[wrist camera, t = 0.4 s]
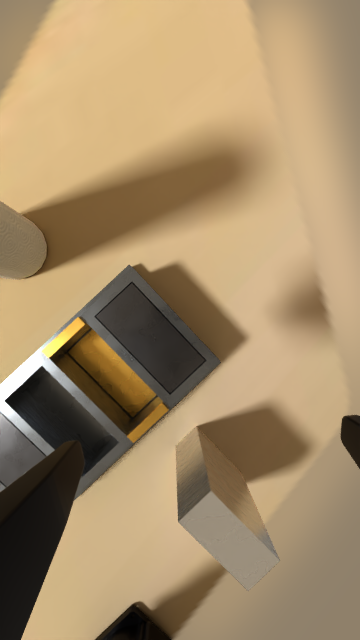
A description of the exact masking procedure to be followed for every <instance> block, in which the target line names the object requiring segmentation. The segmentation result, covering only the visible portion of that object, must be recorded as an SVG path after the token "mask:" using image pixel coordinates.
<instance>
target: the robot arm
mask: <svg viewBox="0 0 360 640" xmlns="http://www.w3.org/2000/svg"><path fill="white" fill-rule="evenodd" d="M341 440H342V443H343V445H344V446H345V447H346V449H347V451H348V452H349V453H350V455H351V457H352V458H353V460H354V461H355V463H356V464H357V466H358V467H359V469H360V416H358V415H348V416H344V417H343V418H342V425H341ZM83 468H84V456H83V452H82V448H81V444H80V442H79V441H78V440H75V441H67V442H65V443H63V444H62V445H61V446H60V447H58V448H57V449H56V450H54V451H53V452H52V453H50V454H49V455H48V456H46V457H45V458H44V459H43V460H41V461H40V462H39V463H37V464H36V465H35V466H33V467H32V468H31V469H30V470H28V471H27V472H26V473H24V474H23V475H22V476H20V477H19V478H18V479H16V480H15V481H14V482H13V483H11V484H10V485H9V486H7V487H6V488H5V489H3V490H2V491H1V492H0V640H21V638H22V635H23V633H24V630H25V628H26V625H27V623H28V620H29V618H30V615H31V613H32V610H33V607H34V605H35V602H36V600H37V597H38V595H39V592H40V590H41V587H42V585H43V582H44V580H45V577H46V575H47V572H48V569H49V567H50V564H51V562H52V559H53V557H54V554H55V552H56V549H57V547H58V544H59V542H60V539H61V537H62V534H63V531H64V529H65V526H66V523H67V520H68V517H69V514H70V511H71V508H72V505H73V501H74V498H75V495H76V491H77V488H78V485H79V482H80V478H81V475H82V472H83ZM96 640H171V639H170V638H169V637H168V636H167V635H166V634H165V633H163V632H162V631H161V630H160V629H159V628H158V627H157V626H156V625H155V624H154V623H153V622H152V621H151V620H150V619H149V618H147V617H146V616H145V615H144V614H143V613H142V612H141V611H140V610H139V609H138V608H137V607H135V606H132V607H130V608H129V609H128V610H127V611H126V612H125V613H124V614H123V615H122V616H121V617H120V618H119V619H117V620H116V621H115V622H114V623H113V624H112V625H111V626H110V627H109V628H108V629H107V630H106V631H105V632H104V633H103V634H102V635H101V636H99V637H98V638H97V639H96Z"/></svg>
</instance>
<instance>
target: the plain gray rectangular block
mask: <svg viewBox="0 0 360 640" xmlns="http://www.w3.org/2000/svg"><path fill="white" fill-rule="evenodd" d="M176 473H177V502H178V522H179V523H180V524H181V525H182V526H183V527H184V528H185V529H186V530H187V531H188V532H189V533H190V534H191V535H192V536H193V537H194V538H195V539H196V540H197V541H198V542H199V543H200V544H201V545H202V546H203V547H204V548H205V549H206V550H207V551H208V552H209V553H210V554H211V555H212V556H213V557H214V558H215V559H216V560H217V561H218V562H219V563H220V564H221V565H222V566H223V567H224V568H225V569H226V570H227V571H228V572H229V573H230V574H231V575H232V576H233V577H234V578H235V579H236V580H237V581H238V582H240V583H241V585H242V586H243V587H244V588H245V589H246V590H248V591H249V590H250V589H251V588H252V587H253V586H254V585H255V584H256V583H257V582H258V581H259V580H260V579H261V578H263V577H264V576H265V574H267V573H268V572H269V571H270V570H271V569H272V568H273V567H274V566H275V565H276V564H277V563H278V562H279V561H280V560H279V557H278V555H277V553H276V550H275V548H274V546H273V544H272V541H271V539H270V537H269V535H268V532H267V530H266V528H265V525H264V523H263V521H262V519H261V516H260V514H259V512H258V509H257V507H256V505H255V503H254V500H253V498H252V496H251V493H250V491H249V489H248V487H247V484H246V482H245V480H244V478H243V475H242V473H241V471H240V470H239V469H238V468H237V467H236V466H235V465H234V464H233V463H232V462H231V461H230V460H229V459H228V458H227V457H226V456H225V455H224V454H223V453H222V452H221V451H220V450H219V449H218V448H217V447H216V446H215V445H214V444H213V443H212V442H211V440H210V439H209V438H208V437H207V436H206V435H205V434H204V433H203V432H202V431H201V430H200V429H199V428H198V427H197V426H196V427H195V428H194V429H193V430H192V431H191V432H190V433H189V434H188V435H187V436H185V437H184V438H183V439H182V440H181V441H180V442H179V443H178V444H177V445H176Z"/></svg>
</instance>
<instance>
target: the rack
mask: <svg viewBox="0 0 360 640" xmlns="http://www.w3.org/2000/svg"><path fill="white" fill-rule="evenodd" d="M220 363H221V362H220V360H219V359H218V358H217V357H216V356H215V355H214V354H213V353H212V352H211V351H210V350H209V349H208V347H207V346H206V345H205V344H204V343H203V342H202V341H201V340H200V339H199V338H198V337H197V336H196V335H195V334H194V333H193V331H192V330H191V329H190V328H189V327H188V326H187V325H186V324H185V323H184V322H183V321H182V320H181V319H180V318H179V316H178V315H177V314H176V313H175V312H174V311H173V310H172V309H171V308H170V307H169V306H168V305H167V304H166V303H165V302H164V300H163V299H162V298H161V297H160V296H159V295H158V294H157V293H156V292H155V291H154V290H153V289H152V288H151V287H150V285H149V284H148V283H147V282H146V281H145V280H144V279H143V278H142V277H141V276H140V275H139V274H138V273H137V272H136V271H135V269H134V268H133V267H131V266H130V265H128V266H127V267H126V268H125V269H124V270H123V271H122V272H121V273H120V274H119V275H118V276H116V277H115V278H114V279H113V280H112V281H111V282H110V283H109V284H108V285H107V286H106V287H105V288H104V289H103V290H101V291H100V292H99V293H98V294H97V295H96V296H95V297H94V298H93V299H92V300H91V301H90V302H89V303H88V304H86V305H85V306H84V307H83V308H82V309H81V310H80V311H79V312H78V313H77V314H76V315H75V316H74V317H73V318H71V319H70V320H69V321H68V322H67V323H66V324H65V325H64V326H63V327H62V328H61V329H60V330H59V331H58V332H56V333H55V334H54V335H53V336H52V337H51V338H50V339H49V340H48V341H47V342H46V343H45V344H44V345H43V346H41V347H40V348H39V349H38V350H37V351H36V352H35V353H34V354H33V355H32V356H31V357H30V358H29V359H28V360H26V361H25V362H24V363H23V364H22V365H21V366H20V367H19V368H18V369H17V370H16V371H15V372H14V373H13V374H11V375H10V376H9V377H8V378H7V379H6V380H5V381H4V382H3V383H2V384H1V385H0V492H1V491H2V490H3V489H5V488H6V487H7V486H9V485H10V484H11V483H13V482H14V481H15V480H16V479H18V478H19V477H20V476H22V475H23V474H24V473H26V472H27V471H28V470H30V469H31V468H32V467H33V466H35V465H36V464H37V463H39V462H40V461H41V460H43V459H44V458H45V457H46V456H48V455H49V454H50V453H52V452H53V451H54V450H56V449H57V448H58V447H60V446H61V445H62V444H63V443H65V442H67V441H75V440H78V441H79V442H80V444H81V448H82V452H83V456H84V468H83V472H82V475H81V478H80V482H79V485H78V488H77V491H76V495H75V498H74V500H75V499H76V498H77V497H78V496H80V495H81V494H82V493H83V492H84V491H85V490H86V489H87V488H88V487H89V486H90V485H91V484H92V483H93V482H94V481H96V480H97V479H98V478H99V477H100V476H101V475H102V474H103V473H104V472H105V471H106V470H107V469H108V468H109V467H110V466H111V465H113V464H114V463H115V462H116V461H117V460H118V459H119V458H120V457H121V456H122V455H123V454H124V453H125V452H126V451H127V450H129V449H130V448H131V447H132V446H133V445H134V444H135V443H136V442H137V441H138V440H139V439H140V438H141V437H142V436H143V435H144V434H146V433H147V432H148V431H149V430H150V429H151V428H152V427H153V426H154V425H155V424H156V423H157V422H158V421H159V420H160V419H162V418H163V417H164V416H165V415H166V414H167V413H168V412H169V411H170V410H171V409H172V408H173V407H174V406H175V405H176V404H177V403H179V402H180V401H181V400H182V399H183V398H184V397H185V396H186V395H187V394H188V393H189V392H190V391H191V390H192V389H193V388H194V387H196V386H197V385H198V384H199V383H200V382H201V381H202V380H203V379H204V378H205V377H206V376H207V375H208V374H209V373H210V372H212V371H213V370H214V369H215V368H216V367H217V366H218V365H219V364H220Z"/></svg>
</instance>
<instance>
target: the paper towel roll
mask: <svg viewBox="0 0 360 640" xmlns="http://www.w3.org/2000/svg"><path fill="white" fill-rule="evenodd" d="M46 255H47V244H46V241H45V238H44V236H43V233H42V232H41V231H40V229H39V228H38V227H37V226H36V225H35V224H34V223H33V222H32V221H30V220H29V219H27V218H26V217H24V216H23V215H21V214H19V213H18V212H16V211H15V210H13V209H12V208H10V207H9V206H7V205H6V204H4V203H2V202H1V201H0V277H1V278H6V279H23V278H26V277H29V276H32V275H33V274H34V273H36V272H37V271H38V270H39V269H40V268H41V267H42V265H43V263H44V261H45V259H46Z"/></svg>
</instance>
